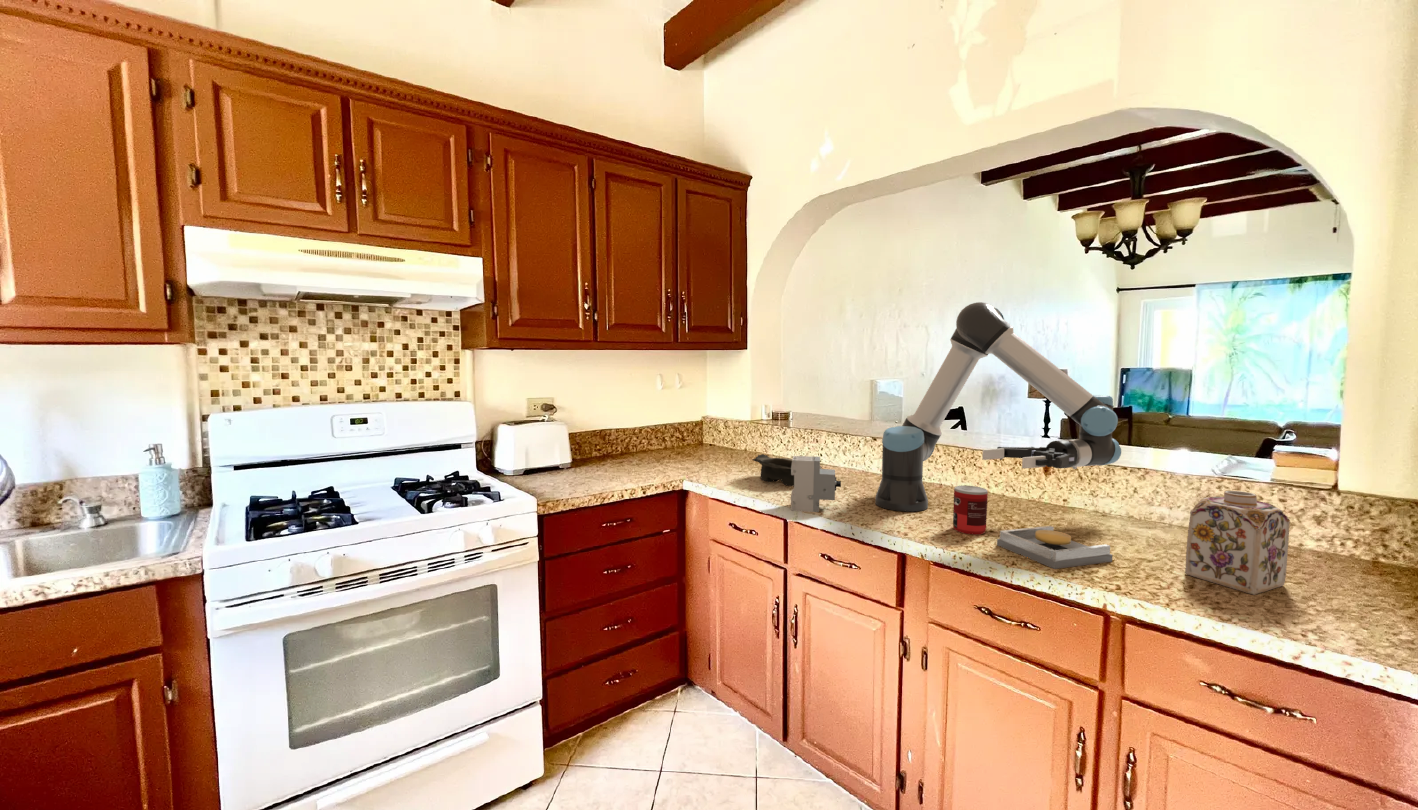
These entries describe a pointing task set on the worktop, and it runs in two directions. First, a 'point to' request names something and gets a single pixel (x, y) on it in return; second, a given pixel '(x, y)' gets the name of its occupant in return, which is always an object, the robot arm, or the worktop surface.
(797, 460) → the circuit breaker
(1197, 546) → the decorative jar
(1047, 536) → the button
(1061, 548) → the switch base
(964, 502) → the canned food
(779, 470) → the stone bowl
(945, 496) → the worktop surface
